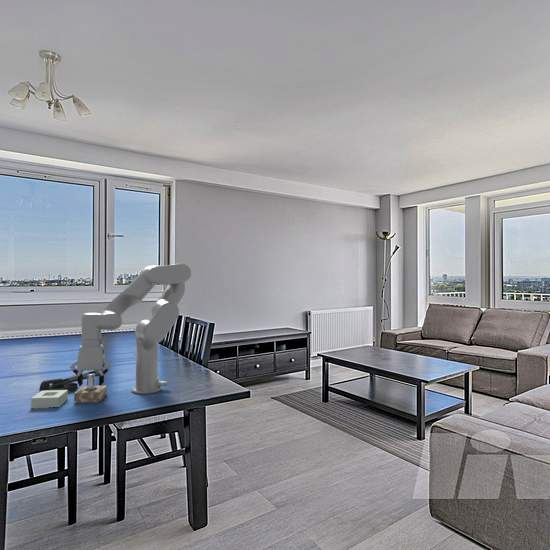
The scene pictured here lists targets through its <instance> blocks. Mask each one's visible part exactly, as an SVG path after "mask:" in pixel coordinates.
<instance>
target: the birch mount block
mask: <svg viewBox="0 0 550 550" xmlns="http://www.w3.org/2000/svg"><path fill="white" fill-rule="evenodd" d="M73 395H74V396H73V403H74V402H90V403H101V402H102V401H103V399H105V397H106V396H107V385H101V386H100V385H95V391H87V385H81V386H79V388H78V389H77V390H76V391H74V393H73ZM105 395H106V396H105ZM104 396H105V397H104ZM101 400H102V401H101ZM100 401H101V402H100Z"/></svg>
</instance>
